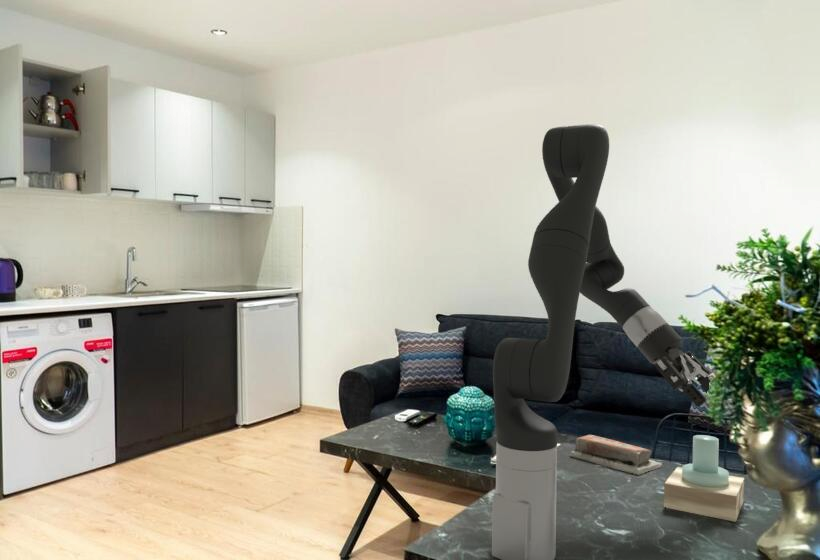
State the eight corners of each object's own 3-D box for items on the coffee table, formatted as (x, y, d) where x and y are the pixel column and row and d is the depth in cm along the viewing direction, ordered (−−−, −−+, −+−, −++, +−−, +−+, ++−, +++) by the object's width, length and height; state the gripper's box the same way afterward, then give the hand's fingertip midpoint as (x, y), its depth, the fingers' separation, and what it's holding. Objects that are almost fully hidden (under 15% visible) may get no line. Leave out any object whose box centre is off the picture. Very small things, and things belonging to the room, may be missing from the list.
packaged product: (568, 437, 153) (593, 430, 159) (568, 458, 153) (593, 450, 160) (639, 454, 139) (663, 446, 146) (638, 477, 139) (662, 468, 146)
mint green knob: (720, 490, 117) (721, 446, 117) (675, 480, 123) (676, 438, 122) (734, 480, 123) (735, 437, 123) (690, 470, 129) (691, 430, 128)
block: (735, 524, 115) (736, 496, 115) (663, 510, 121) (664, 483, 121) (743, 503, 125) (744, 477, 125) (677, 491, 131) (677, 466, 131)
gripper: (650, 324, 123) (713, 393, 115) (679, 320, 133) (738, 383, 126) (623, 349, 127) (682, 418, 119) (652, 343, 137) (708, 406, 129)
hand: (710, 400), depth 122 cm, fingers open, 8 cm apart
